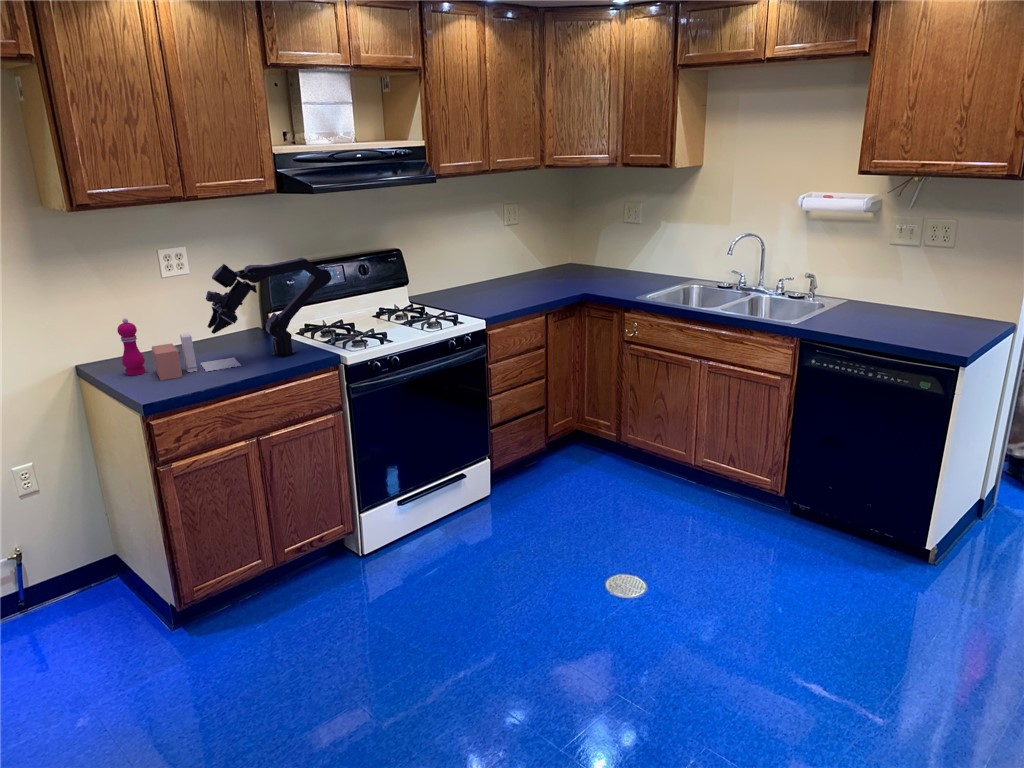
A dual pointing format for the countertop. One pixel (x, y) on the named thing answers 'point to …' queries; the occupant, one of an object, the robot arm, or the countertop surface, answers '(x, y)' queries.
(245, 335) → the countertop surface
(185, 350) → the white rectangular block
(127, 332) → the pepper mill
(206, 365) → the mat
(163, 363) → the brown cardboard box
